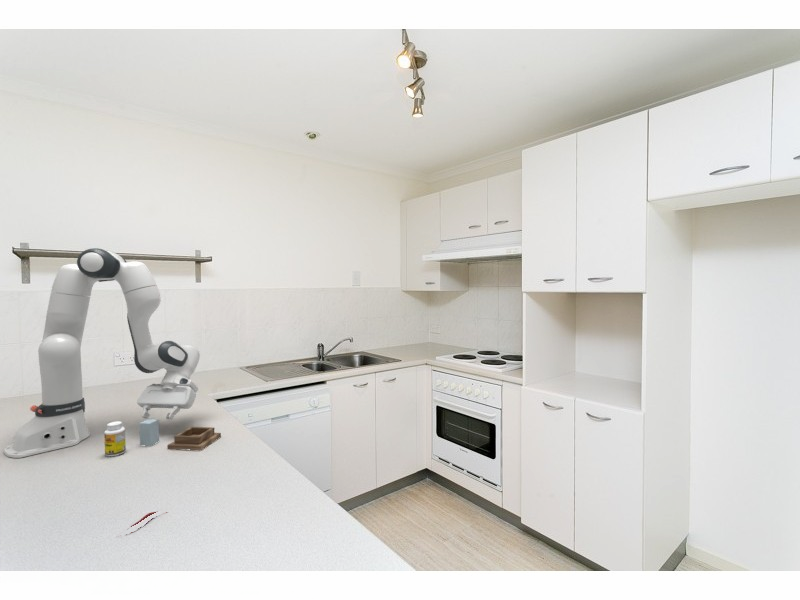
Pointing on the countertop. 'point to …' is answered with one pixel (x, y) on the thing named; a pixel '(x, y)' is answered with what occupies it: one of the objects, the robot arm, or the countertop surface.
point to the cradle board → (194, 438)
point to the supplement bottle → (114, 439)
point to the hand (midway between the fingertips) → (156, 418)
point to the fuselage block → (149, 432)
